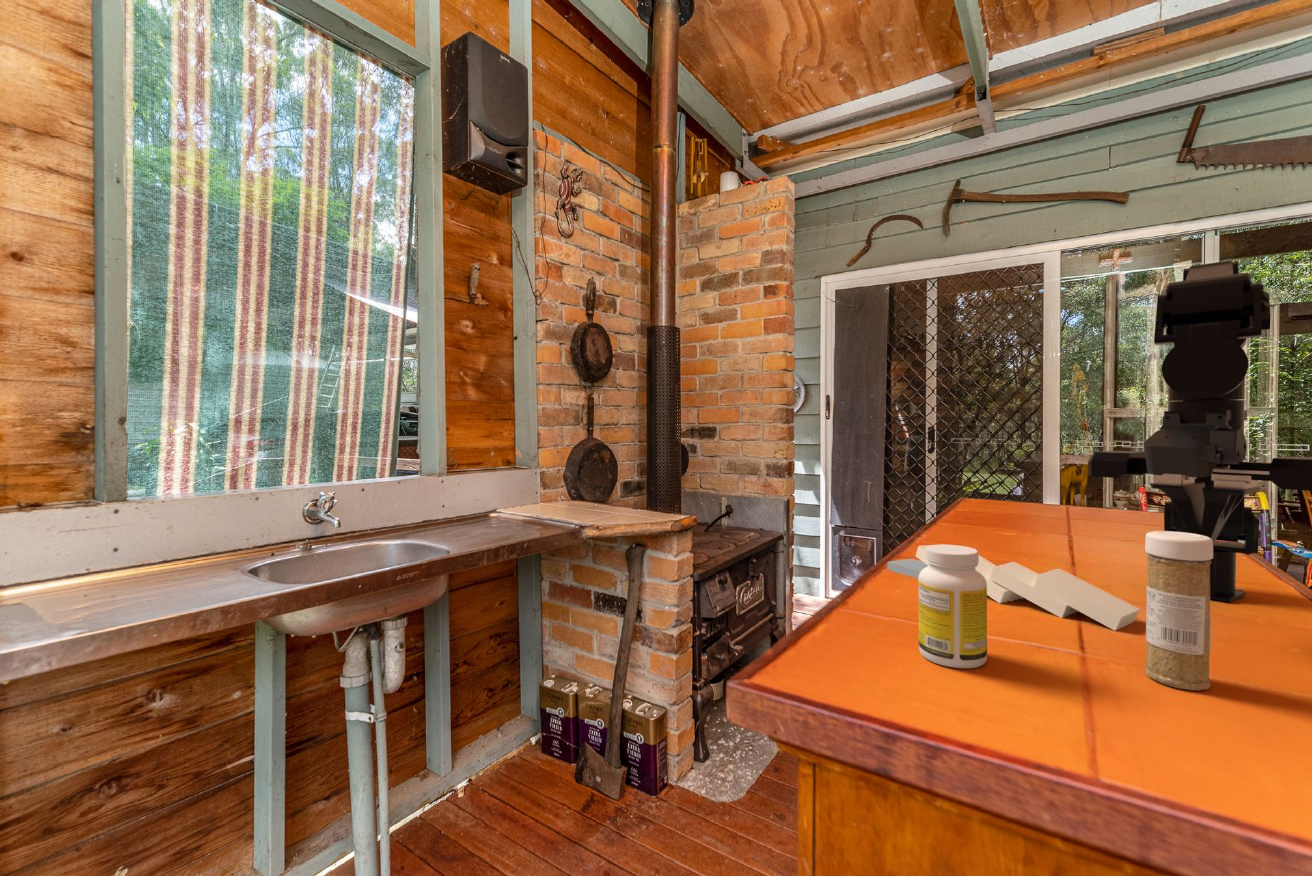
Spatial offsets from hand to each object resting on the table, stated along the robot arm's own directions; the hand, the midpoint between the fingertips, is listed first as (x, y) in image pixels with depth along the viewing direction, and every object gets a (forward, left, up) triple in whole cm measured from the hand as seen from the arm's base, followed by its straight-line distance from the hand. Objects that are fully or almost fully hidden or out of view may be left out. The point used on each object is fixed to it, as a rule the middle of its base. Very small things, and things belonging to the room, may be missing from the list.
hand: (1202, 551), depth 60 cm
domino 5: (-1, -7, -9) cm, 11 cm away
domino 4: (0, -12, -9) cm, 15 cm away
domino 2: (-1, -24, -9) cm, 26 cm away
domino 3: (0, -18, -9) cm, 20 cm away
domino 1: (-1, -28, -10) cm, 30 cm away
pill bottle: (+24, -12, -10) cm, 29 cm away
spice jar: (+12, +2, -10) cm, 16 cm away
